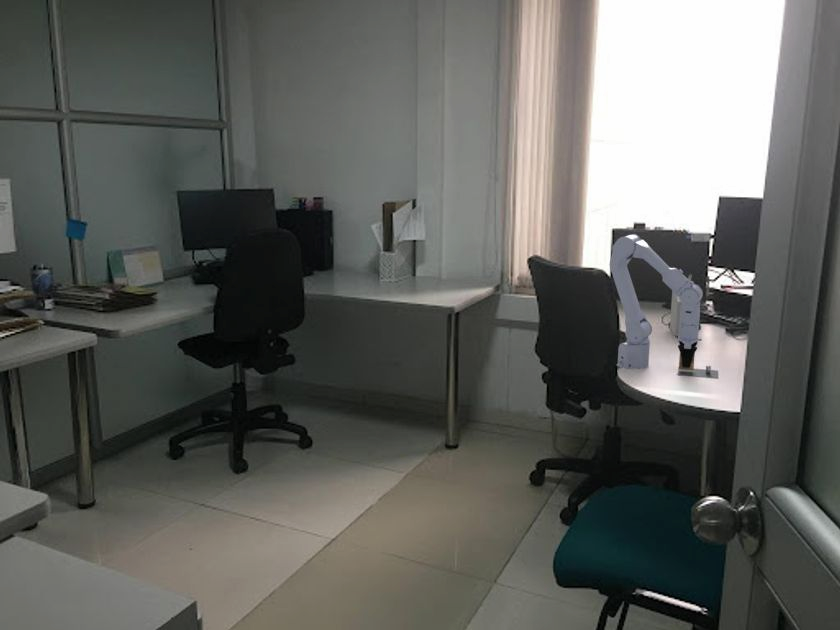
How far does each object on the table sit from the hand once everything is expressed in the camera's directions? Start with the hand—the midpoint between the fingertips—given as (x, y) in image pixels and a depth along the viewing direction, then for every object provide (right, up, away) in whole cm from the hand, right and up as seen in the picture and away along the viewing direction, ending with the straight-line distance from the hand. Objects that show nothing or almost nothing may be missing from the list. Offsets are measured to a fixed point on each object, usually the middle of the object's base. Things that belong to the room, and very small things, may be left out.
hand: (686, 365), depth 228 cm
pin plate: (+3, -3, -1) cm, 5 cm away
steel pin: (+6, -4, -2) cm, 7 cm away
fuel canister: (+17, +8, +52) cm, 56 cm away
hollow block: (0, -1, 0) cm, 1 cm away
